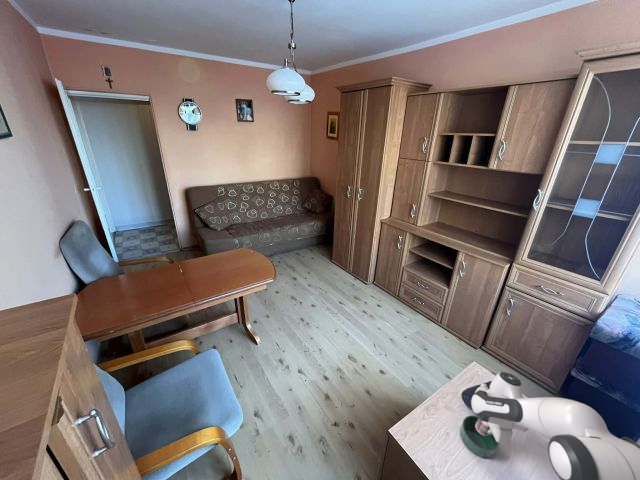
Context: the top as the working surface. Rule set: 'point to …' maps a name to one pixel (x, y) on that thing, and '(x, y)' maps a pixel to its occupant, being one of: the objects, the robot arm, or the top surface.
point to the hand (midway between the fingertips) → (484, 423)
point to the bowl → (477, 438)
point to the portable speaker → (471, 394)
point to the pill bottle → (482, 427)
